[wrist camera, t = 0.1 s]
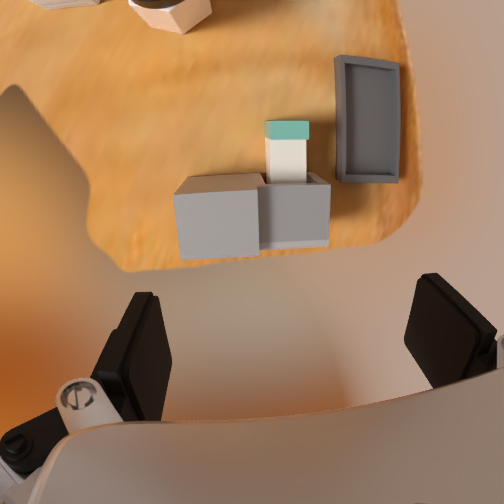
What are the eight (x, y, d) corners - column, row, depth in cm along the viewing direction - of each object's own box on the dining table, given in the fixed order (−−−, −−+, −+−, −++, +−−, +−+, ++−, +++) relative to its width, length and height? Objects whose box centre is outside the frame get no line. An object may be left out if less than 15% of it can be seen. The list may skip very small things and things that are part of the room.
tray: (334, 58, 34) (340, 54, 32) (390, 65, 34) (398, 62, 32) (335, 179, 40) (341, 182, 38) (389, 179, 40) (398, 183, 38)
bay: (187, 177, 39) (173, 194, 30) (312, 171, 40) (335, 187, 30) (192, 228, 42) (181, 260, 33) (311, 222, 42) (332, 251, 33)
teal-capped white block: (264, 121, 37) (270, 120, 31) (297, 120, 37) (308, 120, 31) (267, 207, 41) (272, 222, 35) (298, 205, 41) (308, 221, 35)
